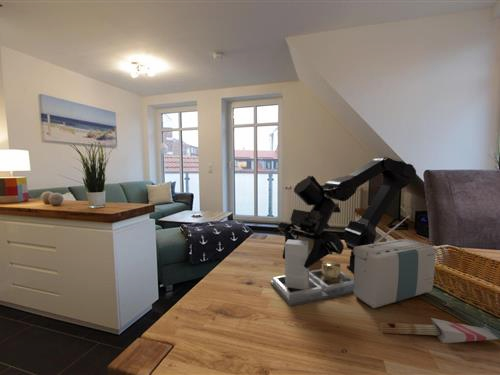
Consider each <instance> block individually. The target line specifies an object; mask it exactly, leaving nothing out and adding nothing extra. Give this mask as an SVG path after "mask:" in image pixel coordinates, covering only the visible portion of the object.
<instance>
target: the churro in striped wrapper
mask: <svg viewBox="0 0 500 375" xmlns="http://www.w3.org/2000/svg"><path fill="white" fill-rule="evenodd" d="M430 320H431V322H432V324H419V323H415V324H414V323H397V322H396V323H395V322H392V323H389V322H380V323H378V324H379V330H380V331H381V333H382V334H400V335H403V334H404V335H425V336H436V337H437V338H438V339H439V341H440V342H441V343H442V344H453V343H464V342H466V343H467V342H477V341H478V342H479V341H492V340H498V339H499V337H497V336H496V335H495V334H494V333H493V332H491V331H490V330H489V329H487V328H485V327H479V326H473V325H468V324H464V323H460V322H459V323H457V322H454V321H450V320H449V321H448V320H443V319H439V318H433V317H430Z"/></svg>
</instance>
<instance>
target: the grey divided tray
mask: <svg viewBox="0 0 500 375" xmlns="http://www.w3.org/2000/svg"><path fill="white" fill-rule="evenodd" d="M269 283H270V285H271V286H272V287H273V288H274V290H276V292H277V293H278V294H279V295H280V297H282V299H283V300H284V301H285V302H286V303H287V304H288V305H289V307H296V306H299V305H304V304H308V303H312V302H317V301H323V300H327V299H331V298H336V297H340V296H345V295H349V294H350V295H351V294H354V278H352V277H351V276H348V274H345V273H344V272H342V271H341V264H340V263H338V262H336V261H334V260H333V261H332V260H324V261H322V262H321V268H320V269H314V270H309V286H308V289H306V290H303V289H296V288H289V287H285V274H283V275H279V276H274V277H272V280H270V282H269Z"/></svg>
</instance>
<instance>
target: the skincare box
mask: <svg viewBox="0 0 500 375" xmlns="http://www.w3.org/2000/svg"><path fill="white" fill-rule="evenodd" d="M284 246H285V260H284V261H285V262H284V275H285V287H289V288H296V289H303V290H306V289H308V286H309V271H310V267H308V268H305V267H304V265H305V262H306V260H307V258H308V256H309V241H302V240H290V239H288V240H287V241H286V243H285V242H284Z"/></svg>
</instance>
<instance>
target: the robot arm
mask: <svg viewBox="0 0 500 375" xmlns="http://www.w3.org/2000/svg"><path fill="white" fill-rule="evenodd" d="M380 174H381V175H382V178H381V179H382V185H381V186H380V188H379V189H378V191H377V192H376V193H375V195H374V197H373V198H372V200H371V201H370V204H369V205H368V206H367V208H366V209H365V211H364V213H363V214H362V216H361V217H360V218H359V219H358V220H356V221H355V220H354V219H351V220H350V221H349V223H348V225H347V227H345V229H344V233H343V235H342V236H343V240H344V243H345V246H346V248H347V249H349V250H351V251H350V256H349V265H346V268H347V269H349V271H351V272H353V273H354V267H355V255H354V251H353V249H354V247H357V246H363V245H369V244H374V243H375V242H376V241H375V240H376V238H377V232H376V228H377V226H378V225H379V223H380V221H381V219H382V218H383V216H384V215H385V213H386V211H387V210H388V208H389V207H390V205H391V204H392V202H393V200H394V199H395V197H396V196H397V194H398V192H400V191H401V190H403V189H405V188H406V187H408V186H409V185H410V184H412V181H414V179H415V178H416V175H417V170H416V168H415V166H414V165H413V164H412V163H406V162H403V161H402V162H401V161H398V160H394V159H392V158H390V157H388V156H387V157H386V156H384V157H381V156H380V157H374V158H373V159H372V160H371V161H370V162H368V163H366V164H365V165H363V166H361V167H359V168H358V169H356V170H354V171H353V172H351V173H349V174H347V175H344V176H340V177H336V178H334V179H330V180H328V181H326V182H325V183H324V184H323V185H322V184H320V183H319V182H318V180H317V179H316V178H315V176H314V175H307V177H306V178H303V179H302V180H301V181H300V182H298V183H297V184H296V185H295V187H294V188H293V193H294V194H295V195H297V197H299V198H300V200H301V201H302V202H303V203H304V204H306V205H307V206H309V207H310V206H312V207H311V210H310V211H306V210H301V209H300V210H299V209H294V208H293V209H292V213H291V216H290V222H288V221H281V222H280V223H279V225H278V227H277V229H278V230H279V231H280V232H281V233H282V235H284V244H285V243H286V241H287V240H288V239H290V240H296V239H298V237H302V238H306V239H309V240H312V241H314V244H313V248H312V250H311V252H310V254H309V256H308V258H307V260H306V262H305V265H304V267H305V268H308V267H309V268H311V266H313V265H314V264H315V263H317V262H318V261H320V260H321V259H323V258H324V257H326V256H328V255H331V256H332V255H333V253H334V254H337V255H341V254H343V251H344V249H345V248H344V243H343V242H342V240H341V238H340V237H339V235H338V234H337V233H333V232H329V231H327V230H326V231H324V230H325V229H329V227H330V225H329V223H328V222H329V221H330V219H331V217H332V216H333V213H338V214H340V213H341V208H340V207H339V203H336V202H334V200H335V201H341V202H346V201H348V200H350V198H351V197H352V196H354V195H355V194H356V192H357V190H358V188H359V187H361V186H362V185H364V184H365V183H367V182H369V181H370V180H372V179H374V178H376V177H377V176H379V175H380ZM291 221H295V222H297V223H298V224H297V226H298V227H300V228H301V229H300V230H299V229H297V228H296V227H295V226H294V225H293V224H292V223H291ZM282 259H283V260H284V261H285V245H284V246H283V252H282Z"/></svg>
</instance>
